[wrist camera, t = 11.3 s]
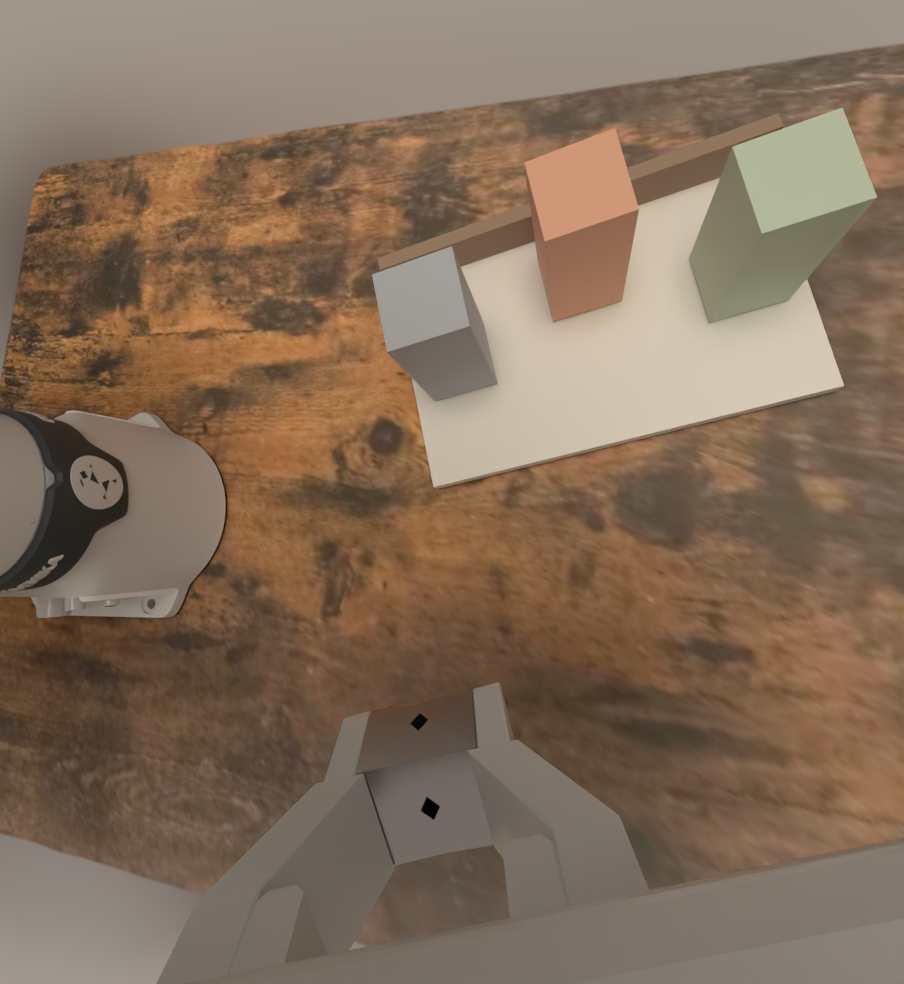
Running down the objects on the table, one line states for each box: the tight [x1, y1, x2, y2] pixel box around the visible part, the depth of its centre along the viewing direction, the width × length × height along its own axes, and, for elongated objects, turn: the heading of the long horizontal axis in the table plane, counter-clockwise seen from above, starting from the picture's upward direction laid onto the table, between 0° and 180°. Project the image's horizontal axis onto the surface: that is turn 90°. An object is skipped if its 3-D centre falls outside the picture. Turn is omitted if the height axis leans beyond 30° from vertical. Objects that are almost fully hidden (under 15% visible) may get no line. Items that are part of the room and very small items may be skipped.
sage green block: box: [689, 108, 877, 323], centre depth 29 cm, size 5×5×10 cm
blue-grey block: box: [372, 246, 497, 401], centre depth 33 cm, size 5×5×10 cm
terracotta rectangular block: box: [524, 128, 639, 322], centre depth 32 cm, size 5×5×10 cm
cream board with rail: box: [378, 113, 844, 489], centre depth 35 cm, size 28×19×4 cm
